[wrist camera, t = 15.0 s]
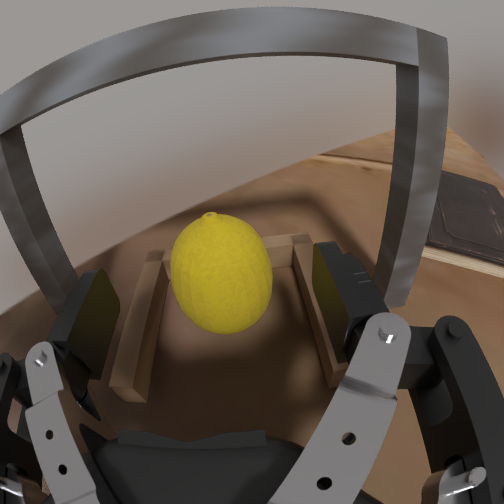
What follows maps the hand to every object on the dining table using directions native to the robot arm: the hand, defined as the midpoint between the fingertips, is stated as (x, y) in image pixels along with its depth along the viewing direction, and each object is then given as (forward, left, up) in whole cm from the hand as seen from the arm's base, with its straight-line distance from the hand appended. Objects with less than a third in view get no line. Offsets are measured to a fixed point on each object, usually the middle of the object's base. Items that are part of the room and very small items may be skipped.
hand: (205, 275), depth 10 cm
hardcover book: (+28, +14, -8) cm, 33 cm away
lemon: (0, +4, -8) cm, 9 cm away
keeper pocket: (0, +4, -7) cm, 9 cm away
